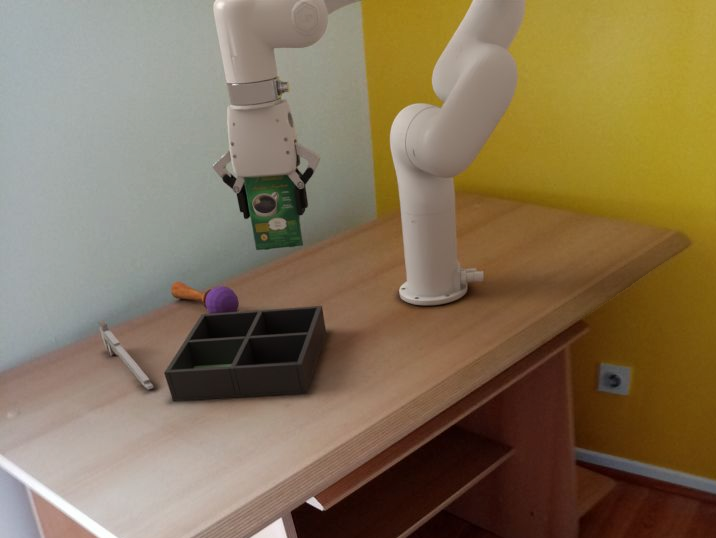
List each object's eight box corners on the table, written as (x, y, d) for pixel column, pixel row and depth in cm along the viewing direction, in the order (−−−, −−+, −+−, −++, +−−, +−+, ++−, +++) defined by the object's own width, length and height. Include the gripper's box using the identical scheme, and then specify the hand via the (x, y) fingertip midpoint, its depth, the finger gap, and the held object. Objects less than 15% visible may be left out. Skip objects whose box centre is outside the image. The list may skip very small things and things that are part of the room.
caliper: (107, 352, 136) (95, 319, 132) (112, 350, 137) (101, 317, 133) (148, 391, 122) (137, 356, 118) (155, 389, 123) (143, 353, 119)
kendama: (189, 272, 153) (242, 286, 139) (193, 302, 156) (246, 318, 142) (162, 276, 150) (214, 291, 136) (166, 307, 152) (218, 324, 139)
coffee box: (305, 240, 126) (292, 156, 119) (304, 246, 124) (291, 160, 116) (257, 246, 127) (241, 162, 119) (256, 251, 124) (239, 166, 117)
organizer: (326, 332, 133) (321, 305, 130) (307, 393, 116) (301, 364, 113) (208, 340, 135) (201, 314, 132) (172, 401, 119) (163, 372, 116)
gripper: (316, 84, 114) (331, 204, 124) (205, 94, 116) (228, 211, 127) (308, 93, 108) (324, 218, 118) (190, 103, 110) (216, 225, 121)
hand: (275, 214), depth 122 cm, fingers closed on coffee box, 8 cm apart
